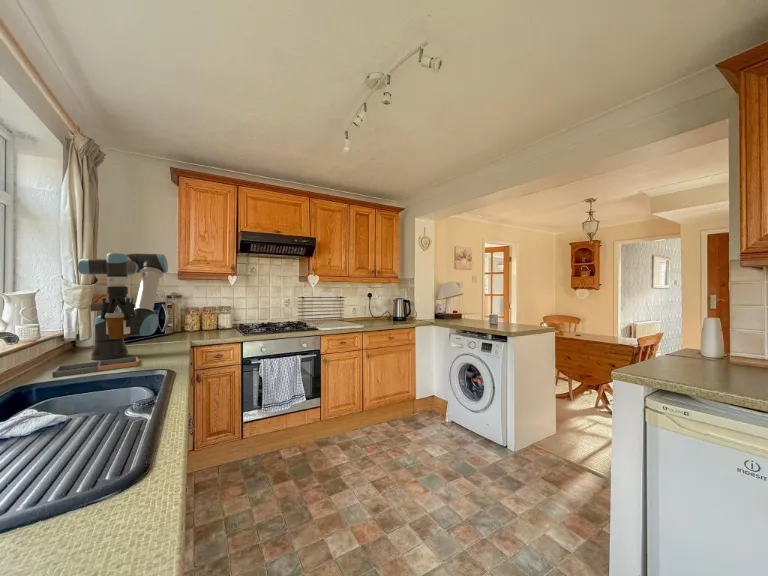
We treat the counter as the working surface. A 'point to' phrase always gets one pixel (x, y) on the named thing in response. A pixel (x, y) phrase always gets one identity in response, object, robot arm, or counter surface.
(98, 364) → the cup carrier
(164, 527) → the counter surface
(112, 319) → the disposable coffee cup
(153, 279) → the robot arm
